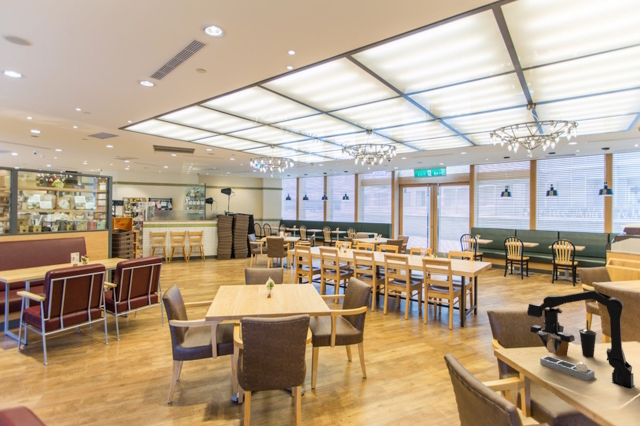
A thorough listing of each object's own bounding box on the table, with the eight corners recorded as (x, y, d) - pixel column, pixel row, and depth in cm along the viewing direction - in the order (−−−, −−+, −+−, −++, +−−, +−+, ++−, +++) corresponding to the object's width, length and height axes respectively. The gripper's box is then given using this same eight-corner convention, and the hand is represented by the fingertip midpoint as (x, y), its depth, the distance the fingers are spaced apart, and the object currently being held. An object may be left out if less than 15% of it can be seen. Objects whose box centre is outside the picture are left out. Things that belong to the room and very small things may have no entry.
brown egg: (558, 352, 169) (558, 340, 169) (554, 354, 167) (553, 342, 167) (549, 350, 173) (549, 338, 173) (545, 351, 171) (545, 339, 171)
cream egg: (589, 376, 158) (588, 363, 158) (585, 378, 156) (584, 365, 156) (578, 372, 161) (578, 360, 161) (574, 374, 159) (574, 361, 159)
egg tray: (594, 378, 157) (594, 370, 157) (587, 381, 153) (587, 374, 153) (547, 362, 175) (547, 355, 175) (540, 365, 171) (540, 358, 171)
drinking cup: (583, 358, 180) (582, 321, 180) (576, 352, 187) (576, 317, 188) (599, 359, 178) (599, 323, 178) (592, 354, 185) (592, 319, 186)
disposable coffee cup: (570, 359, 178) (570, 337, 179) (549, 355, 184) (549, 333, 184) (570, 353, 186) (570, 332, 186) (550, 349, 192) (549, 329, 192)
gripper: (579, 322, 166) (580, 353, 166) (540, 313, 183) (540, 341, 182) (568, 325, 161) (569, 357, 160) (529, 316, 177) (529, 345, 177)
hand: (551, 349), depth 170 cm, fingers closed on brown egg, 4 cm apart
